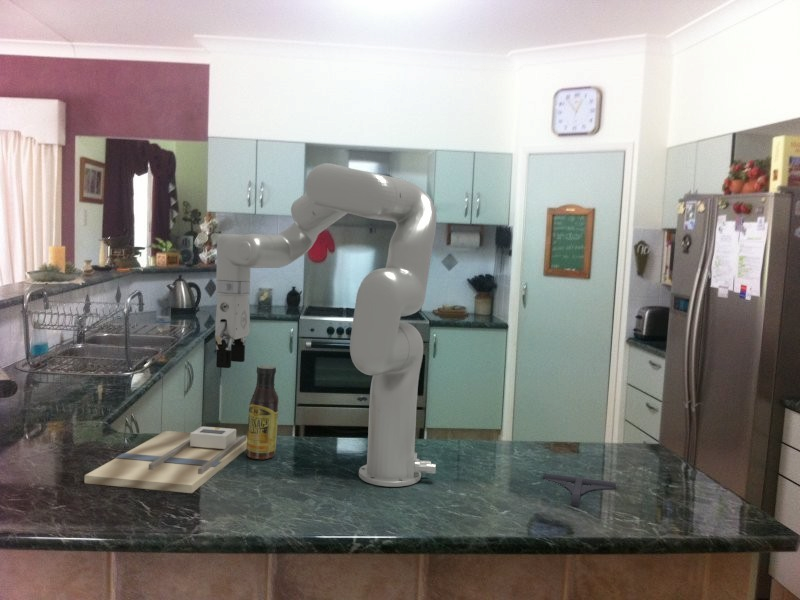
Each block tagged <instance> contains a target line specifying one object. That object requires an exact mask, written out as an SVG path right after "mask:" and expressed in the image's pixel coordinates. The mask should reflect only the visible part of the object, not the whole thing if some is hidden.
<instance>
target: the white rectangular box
mask: <svg viewBox="0 0 800 600" xmlns="http://www.w3.org/2000/svg"><path fill="white" fill-rule="evenodd" d="M189 433H190V446H194V447H206V448H218V449H225V448H227V447H228V446H230V445H231V444H232V443H234V442H235V441H236V437H237V429H236V428H227V427H226V428H225V427H218V426H217V427H216V426H215V427H214V426H204V425H203V426H200V427H198V428H196V429H195V430H194V431H191V432H189Z"/></svg>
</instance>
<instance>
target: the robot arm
mask: <svg viewBox="0 0 800 600" xmlns="http://www.w3.org/2000/svg"><path fill="white" fill-rule="evenodd" d="M304 189H305V193H304V194H302V195H301V196H300V197H298V198H297V199H296V200H294V201H293V203H292V204H291V207H290V213H291V214H290V215H291V216H292V219H293V221H294V223H292V224H291V225H290V226H288V227H287V228H285V230H283V231H282V232H280V233H278V234H267V233H266V234H264V233H261V234H260V233H250V234H247V233H246V234H237V233H222V234H220V235H219V236H218V237H217V241H216V242H217V243H216V245H217V246H216V247H217V248H216V275H215V276H216V279H215V280H216V281H215V295H217V301H216V312H215V324H214V325H215V328H214V329H215V333H214V337H215V344H216V346H215V347H216V348H215V349H216V368H219V369H221V368H223V369H230V368H231V367H232V362H236V363H237V362H238V363H244V362H245V356H246V337H247V336H249V335H250V332H251V318H250V317H251V312H250V310H251V309H250V298H249V296H251V295H250V294H251V293H250V291H251V289H250V288H251V269H280V268H283V267H286V266H288V265H290V264H292V263H294V262H295V261H297V259H299V258H301V257H302V256H304V255H305V254H307V253H308V251H309V250H311V248H312V247H313V246H314V244H315V243H316V242H317V239H318V237H319V235H320V234H321V233H322V232H323V231H325V230H326V229H328V228H329V227H331V226H332V225H333V224H335V222H338V221H339V220H340V219H341V218H343V217H344V216H346V215H347V214H350V215H354V216H358V217H362V218H366V219H373V220H378V221H389V222H393V223H395V225H396V227H395V230H394V231H393V234H392V235H391V238H390V241H389V245H388V250H387V251H388V252H387V259H386V264H385V267H382V268H377V269H375V270H374V269H373V270H372V271H371V272H369V273H368V274H367V275H365V277H364V278H363V279H362V281H361V283H360V285H359V287H358V289H357V293H356V298H355V303H354V304H355V305H354V312H353V319H352V324H351V325H352V326H351V331H350V332H351V333H350V342H349V354H350V357H351V361H352V363H353V365H354V366H355V368H356V369H357V370H358V371H360V372H361V373H363V374H364V375H366V376H367V375H368V376H371V377H372V378H371V383H370V390H369V404H368V405H369V409H368V410H369V411H368V431H367V433H368V435H367V456H366V458H367V459H366V464H364V465H362V466H360V468H359V469H358V476H359V478H360V479H361V480H362V481H364V482H366V483H368V484H370V485H373V486H378V487H387V488H388V487H389V488H390V487H391V488H393V487H395V488H398V487H399V488H400V487H407V486H411V485H414V484H417V483H418V482H419V481H420V480H421V478H422V473H426V474H436V472H437V464H436V463H432V461H431V460H420V458H418V453H417V452H415V447H416V426H417V425H416V424H417V423H416V422H417V406H418V405H417V404H418V388H419V380H420V373H421V368H422V363H423V355H424V340H423V338H422V335H421V333H420V331H419V330H418V329H417V328H416V327H415V326H414V325H413V324H411V323H409V322H406V321H400V320H401V317H407V316H411V315H413V314H416V313H417V312H420V310H421V309H422V307H423V305H424V303H425V300H426V295H427V287H428V280H429V274H430V267H431V262H432V261H431V260H432V259H431V258H432V252H433V248H434V247H433V245H434V242H435V241H434V240H435V235H436V229H437V220H438V219H437V210H436V207H435V204H434V202H433V199H432V198H431V197H430V195H429V194H428V193H427V192H426V191H425V190H424V189H423V188H422V187H420V186H419V185H417V184H415V183H413V182H411V181H409V180H406V179H403V178H402V179H401V178H398V177H393V176H389V175H385V174H381V173H380V174H379V173H376V172H370V171H366V170H362V169H361V170H360V169H356V168H355V169H354V168H351V167H347V166H344V165H340V164H334V163H329V162H325V163H321V164H318V165H316V166H315V167H314V168H312V169H311V171H309V172H308V175H307V177H306V179H305V183H304Z"/></svg>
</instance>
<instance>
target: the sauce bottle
mask: <svg viewBox="0 0 800 600" xmlns="http://www.w3.org/2000/svg"><path fill="white" fill-rule="evenodd" d="M276 373H277V367H276V366H274V365H271V364H261V365H257V367H256V375H257V376H256V384H255V385H256V386H255V389H254V392H253V394H252V396H251V399H250V402H249V407H248V419H247V420H248V422H247V434H246V437H247V449H246V456H247V457H248V458H250V459H253V460H260V461H262V460H263V461H264V460H268V459H271V458H274V456H275V453H276V452H275V451H276V449H277V448H276V447H277V437H278V436H277V434H278V420H279V419H278V417H279V396H278V393H277V391H276V388H275V378H276V377H275V375H276Z"/></svg>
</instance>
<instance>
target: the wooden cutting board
mask: <svg viewBox="0 0 800 600" xmlns="http://www.w3.org/2000/svg"><path fill="white" fill-rule="evenodd" d="M190 433H191V432H186V431H185V432H184V431H175V430H173V431H172V430H165V431H163V432H161V433H159V434H157V435H156V436H154V437H152V438H150V439H148V440H146V441H144V442H143V443H141V444H139V445H137V446H136V447H134V448H132V449H130V450H128V451H127V452H123V453H121V454H119V455H117V456H115V458H114V459H112V460H110V461H108V462H106V463H104V464H103V465H101V466H99V467H96V468H95V469H94V470H92V471H90V472H88V473H86V474H84V480H83V481H84V482H83V483H84V484H89V485H100V486H109V487H110V486H113V487H121V488H129V489H130V488H131V489H134V488H135V489H141V490H142V489H144V490H151V491H152V490H153V491H164V492H175V493H184V494H186V493H187V494H193V493H194V492H195V491H196V490H198V489H199V488H200V487H201V486H202V485H204V484H205V483H207V481H209V480H210V479H211V478H213V476H216V474H218V473H219V472H220V471H222V469H224V468H225V467H227V466H228V465H229V464H230V463H231V462H232V461H234V460H235V459H236V458H237V457H239V455H241V454H242V453H243V452H244V451H247V435H246V434H245V435H242V436H236V441H235V442H234V443H232V444H231V445H230V446H228V447H227V448H225V449H218V448H206V447H194V446H190Z"/></svg>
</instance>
